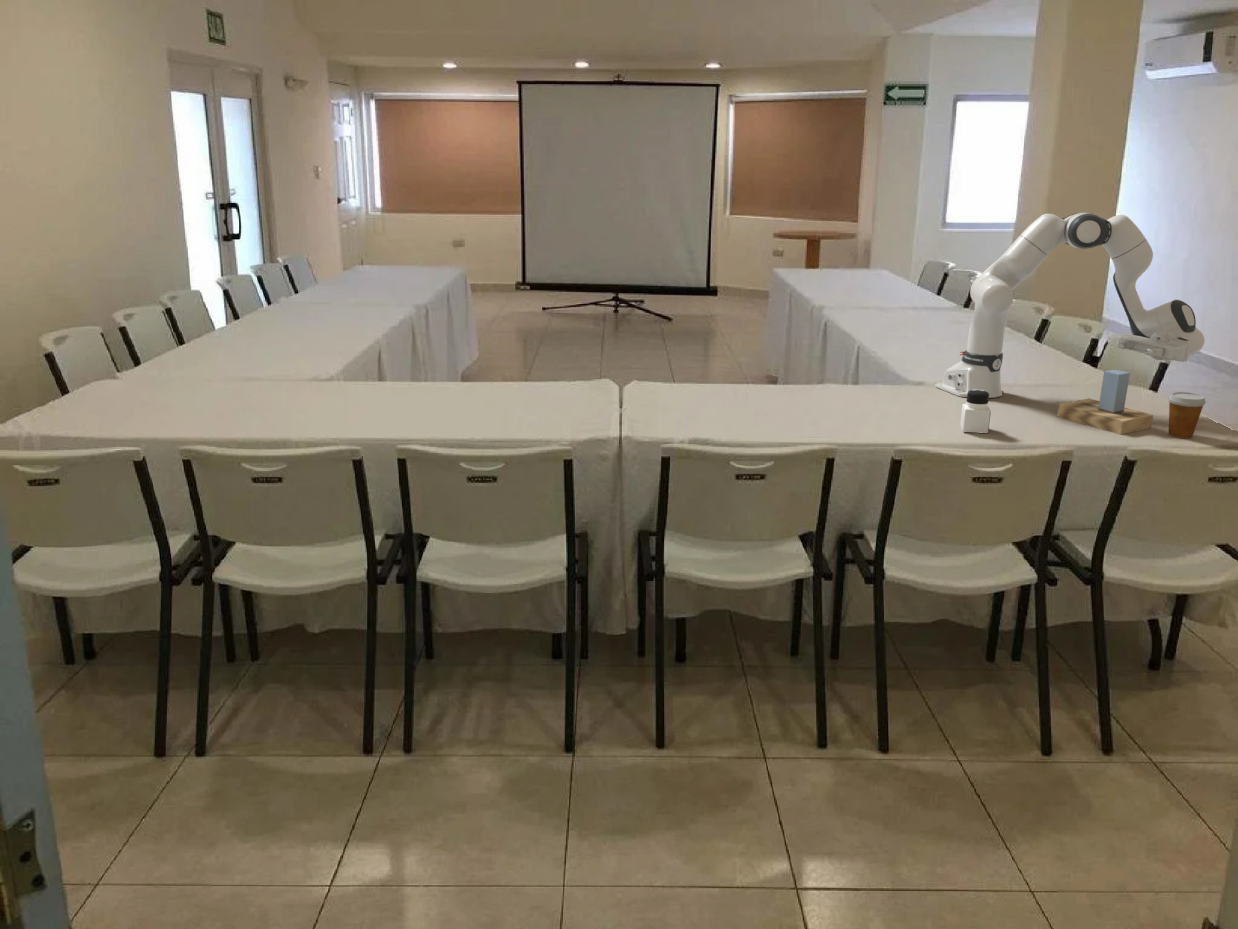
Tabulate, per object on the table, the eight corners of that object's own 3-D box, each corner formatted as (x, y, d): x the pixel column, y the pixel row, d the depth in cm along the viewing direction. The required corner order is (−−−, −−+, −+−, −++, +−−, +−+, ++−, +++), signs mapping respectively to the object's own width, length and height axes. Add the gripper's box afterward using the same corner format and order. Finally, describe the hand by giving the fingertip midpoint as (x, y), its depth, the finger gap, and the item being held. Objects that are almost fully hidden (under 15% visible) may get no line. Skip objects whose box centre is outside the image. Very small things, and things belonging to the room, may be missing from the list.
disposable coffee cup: (1155, 431, 299) (1162, 391, 295) (1185, 430, 300) (1193, 391, 296) (1174, 440, 290) (1182, 400, 286) (1206, 439, 291) (1214, 399, 287)
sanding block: (1098, 409, 306) (1104, 371, 302) (1108, 407, 308) (1115, 369, 305) (1112, 413, 302) (1119, 374, 298) (1123, 411, 304) (1130, 372, 300)
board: (1057, 416, 314) (1059, 403, 313) (1087, 410, 320) (1089, 398, 319) (1120, 434, 296) (1122, 421, 294) (1150, 427, 302) (1153, 414, 301)
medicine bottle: (988, 434, 296) (993, 394, 292) (962, 432, 298) (967, 393, 294) (984, 427, 303) (989, 388, 299) (960, 426, 304) (964, 387, 300)
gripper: (1135, 329, 322) (1106, 332, 315) (1196, 342, 305) (1167, 345, 298) (1131, 348, 324) (1103, 352, 317) (1191, 362, 307) (1163, 366, 300)
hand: (1134, 349), depth 308 cm, fingers open, 8 cm apart
